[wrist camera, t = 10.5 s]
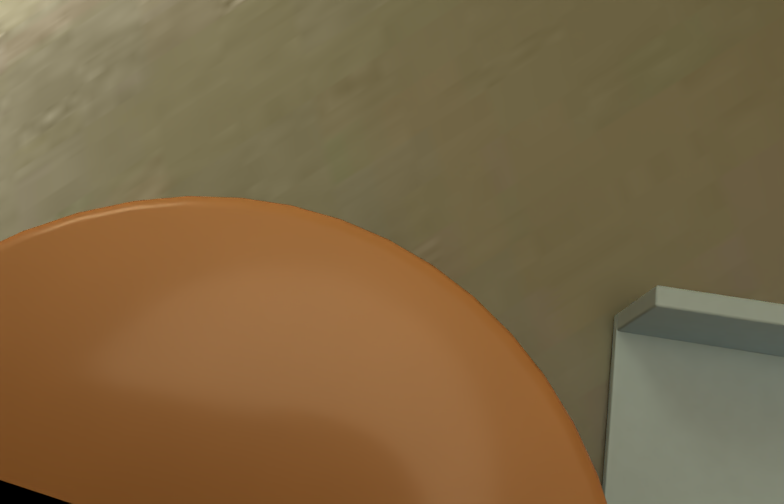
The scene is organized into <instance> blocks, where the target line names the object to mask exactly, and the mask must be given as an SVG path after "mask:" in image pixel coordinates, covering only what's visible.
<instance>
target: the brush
mask: <svg viewBox="0 0 784 504" xmlns="http://www.w3.org/2000/svg"><path fill="white" fill-rule="evenodd" d="M0 504H607V501H606V498H605V495H604V492H603V489H602V486H601V483H600V480H599V477H598V474H597V472H596V470H595V468H594V466H593V463H592V461H591V459H590V457H589V455H588V453H587V450H586V448H585V446H584V444H583V442H582V440H581V437H580V435H579V433H578V431H577V429H576V427H575V424H574V423H573V421H572V419H571V418H570V416H569V414H568V413H567V411H566V409H565V408H564V406H563V405H562V403H561V401H560V400H559V398H558V396H557V395H556V393H555V392H554V390H553V388H552V387H551V385H550V383H549V382H548V380H547V378H546V377H545V375H544V374H543V373H542V372H541V370H540V369H539V368H538V367H537V365H536V364H535V363H534V362H533V360H532V359H531V358H530V357H529V355H528V354H527V353H526V351H525V350H524V349H523V348H522V346H521V345H520V344H519V343H518V341H517V340H516V339H515V338H514V336H513V335H512V334H511V333H510V332H509V331H508V330H507V329H506V328H505V327H504V326H503V325H502V324H501V323H500V322H499V321H498V320H497V319H496V318H495V317H494V316H493V315H492V314H491V313H490V312H489V311H488V310H487V309H486V308H485V307H484V306H483V305H482V304H481V303H480V302H479V301H478V300H477V299H476V298H475V297H473V296H472V295H471V294H470V293H468V292H467V291H466V290H464V289H463V288H462V287H460V286H459V285H458V284H456V283H455V282H454V281H452V280H451V279H450V278H449V277H447V276H446V275H445V274H443V273H442V272H441V271H439V270H438V269H437V268H435V267H434V266H433V265H431V264H430V263H428V262H426V261H424V260H423V259H421V258H419V257H417V256H416V255H414V254H412V253H411V252H409V251H407V250H405V249H404V248H402V247H400V246H399V245H397V244H395V243H393V242H392V241H390V240H388V239H386V238H384V237H381V236H379V235H377V234H374V233H372V232H369V231H367V230H365V229H362V228H360V227H358V226H355V225H353V224H351V223H348V222H346V221H344V220H341V219H338V218H334V217H331V216H327V215H324V214H320V213H316V212H313V211H309V210H306V209H302V208H299V207H295V206H292V205H285V204H279V203H272V202H266V201H259V200H253V199H246V198H234V197H201V196H184V197H173V198H162V199H151V200H140V201H132V202H128V203H123V204H118V205H113V206H108V207H104V208H99V209H94V210H89V211H85V212H80V213H76V214H73V215H70V216H67V217H64V218H61V219H58V220H55V221H52V222H49V223H46V224H43V225H40V226H37V227H34V228H31V229H28V230H25V231H23V232H20V233H18V234H16V235H14V236H12V237H10V238H8V239H5V240H3V241H1V242H0Z"/></svg>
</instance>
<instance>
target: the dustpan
mask: <svg viewBox="0 0 784 504" xmlns="http://www.w3.org/2000/svg"><path fill="white" fill-rule="evenodd" d="M602 489H603V492H604V495H605V498H606V501H607V504H784V304H778V303H772V302H765V301H758V300H752V299H745V298H738V297H732V296H725V295H718V294H712V293H705V292H698V291H692V290H685V289H678V288H672V287H665V286H656V287H654V288H653V289H651V290H650V291H649V292H647V293H646V294H645V295H643V296H642V297H640V298H639V299H638V300H636V301H635V302H633V303H632V304H631V305H629V306H628V307H627V308H625V309H624V310H622V311H621V312H620V313H618V314H616V315H615V316H614V330H613V344H612V358H611V372H610V387H609V401H608V415H607V429H606V443H605V457H604V471H603V485H602Z"/></svg>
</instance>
